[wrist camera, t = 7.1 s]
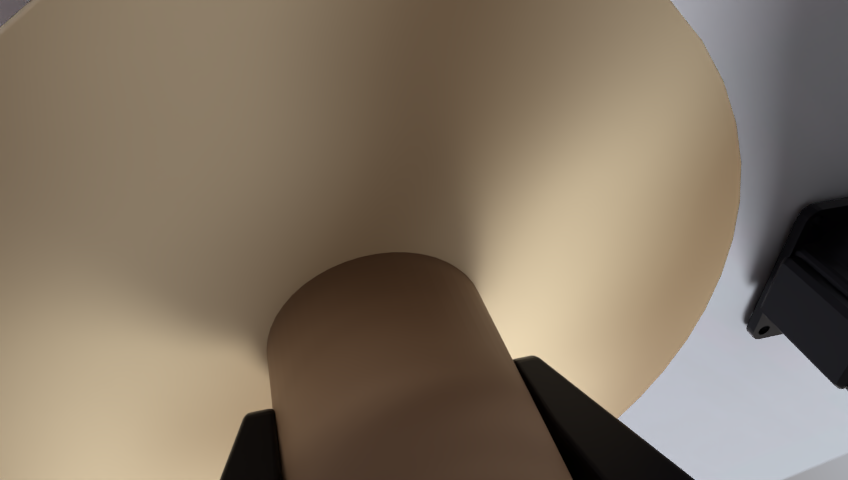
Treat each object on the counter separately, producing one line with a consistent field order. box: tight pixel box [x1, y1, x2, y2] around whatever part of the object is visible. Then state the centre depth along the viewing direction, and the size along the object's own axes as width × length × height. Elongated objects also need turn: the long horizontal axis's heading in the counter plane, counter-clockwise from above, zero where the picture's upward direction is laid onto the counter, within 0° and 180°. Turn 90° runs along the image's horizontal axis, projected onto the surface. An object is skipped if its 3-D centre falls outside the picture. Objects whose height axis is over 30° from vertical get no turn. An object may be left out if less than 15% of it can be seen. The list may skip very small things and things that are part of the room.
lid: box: [0, 0, 741, 480], centre depth 9 cm, size 13×13×6 cm
